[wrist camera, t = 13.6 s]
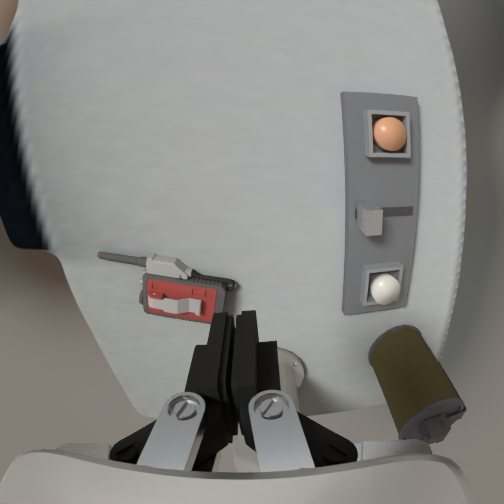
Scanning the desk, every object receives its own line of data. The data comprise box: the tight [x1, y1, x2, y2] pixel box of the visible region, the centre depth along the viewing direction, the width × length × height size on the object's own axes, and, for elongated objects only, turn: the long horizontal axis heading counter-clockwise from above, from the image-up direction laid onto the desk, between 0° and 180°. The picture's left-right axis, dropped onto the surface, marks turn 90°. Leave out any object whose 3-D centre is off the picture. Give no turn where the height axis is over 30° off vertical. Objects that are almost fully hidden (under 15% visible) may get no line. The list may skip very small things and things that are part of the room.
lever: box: [357, 202, 383, 236], centre depth 34 cm, size 2×3×4 cm, turn 5°
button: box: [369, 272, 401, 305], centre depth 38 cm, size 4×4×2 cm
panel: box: [340, 92, 420, 315], centre depth 36 cm, size 30×10×3 cm, turn 5°
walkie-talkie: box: [98, 252, 235, 324], centre depth 40 cm, size 9×4×20 cm
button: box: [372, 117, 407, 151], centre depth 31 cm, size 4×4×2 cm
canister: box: [369, 325, 466, 445], centre depth 38 cm, size 11×10×20 cm
